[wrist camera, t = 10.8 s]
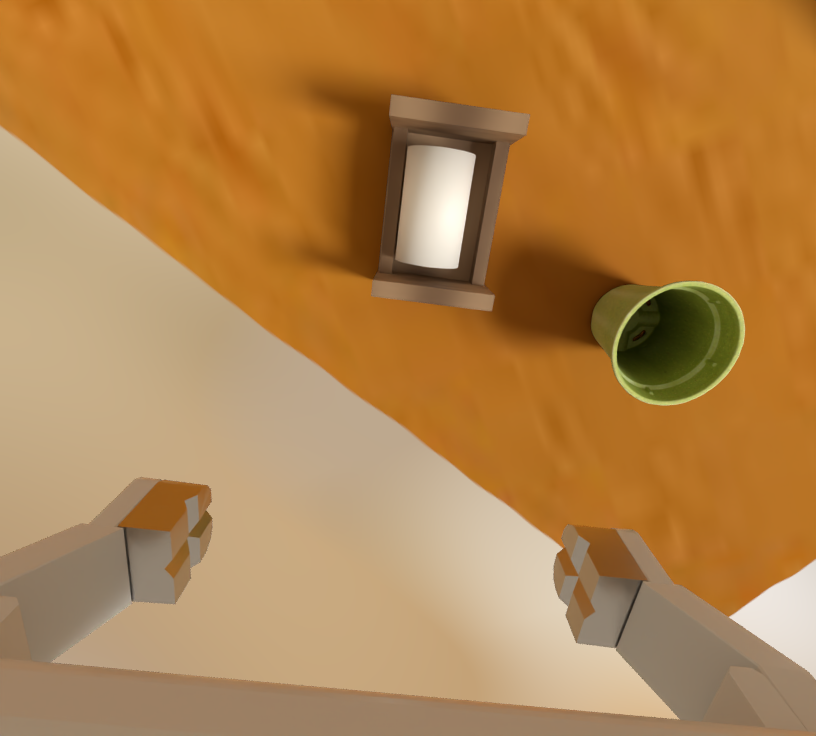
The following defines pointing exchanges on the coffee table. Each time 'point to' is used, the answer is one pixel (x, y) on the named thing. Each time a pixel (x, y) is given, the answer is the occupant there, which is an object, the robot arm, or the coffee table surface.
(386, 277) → the walnut cradle
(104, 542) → the robot arm
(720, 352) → the plant pot
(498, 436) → the coffee table surface
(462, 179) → the paper roll
